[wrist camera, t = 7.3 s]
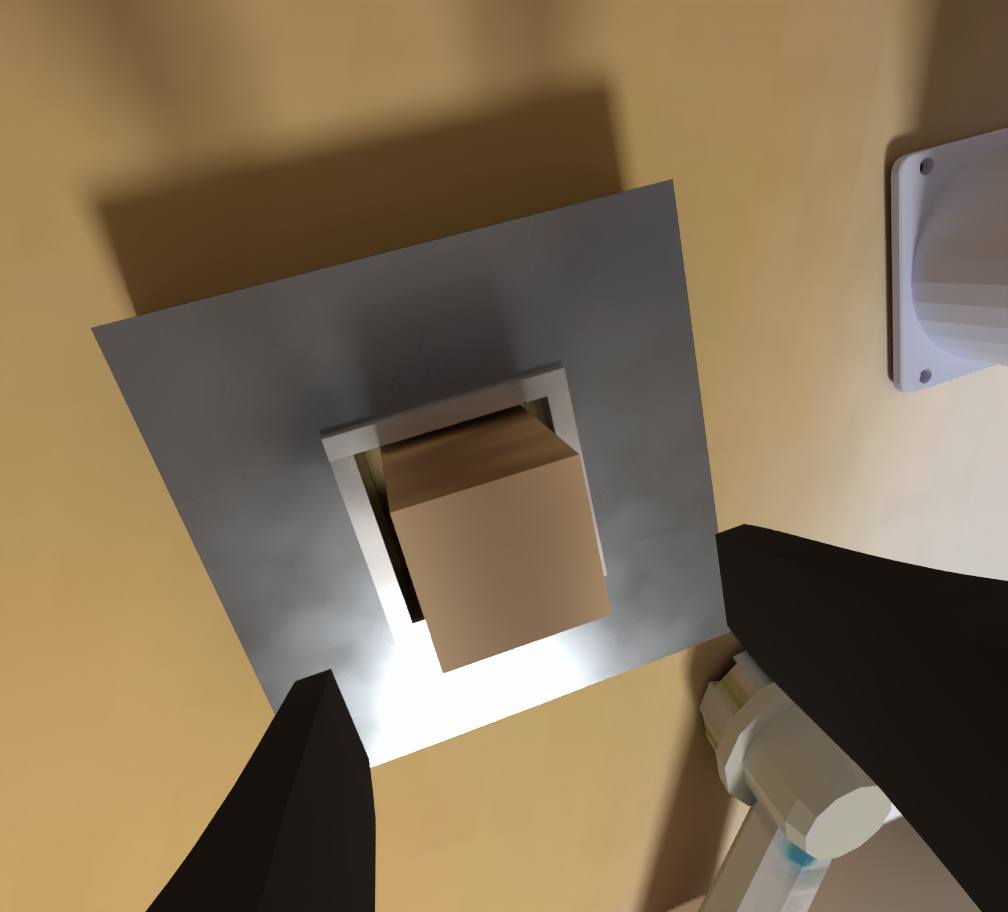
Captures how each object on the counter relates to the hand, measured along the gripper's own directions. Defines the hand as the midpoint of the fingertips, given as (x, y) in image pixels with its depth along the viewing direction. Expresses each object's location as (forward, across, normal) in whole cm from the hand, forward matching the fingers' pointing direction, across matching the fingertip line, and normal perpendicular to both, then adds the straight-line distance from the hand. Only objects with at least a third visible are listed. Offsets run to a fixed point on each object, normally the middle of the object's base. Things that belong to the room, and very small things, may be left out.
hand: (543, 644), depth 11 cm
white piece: (+10, -5, +22) cm, 25 cm away
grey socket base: (+9, 0, 0) cm, 9 cm away
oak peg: (+9, 0, 0) cm, 9 cm away
